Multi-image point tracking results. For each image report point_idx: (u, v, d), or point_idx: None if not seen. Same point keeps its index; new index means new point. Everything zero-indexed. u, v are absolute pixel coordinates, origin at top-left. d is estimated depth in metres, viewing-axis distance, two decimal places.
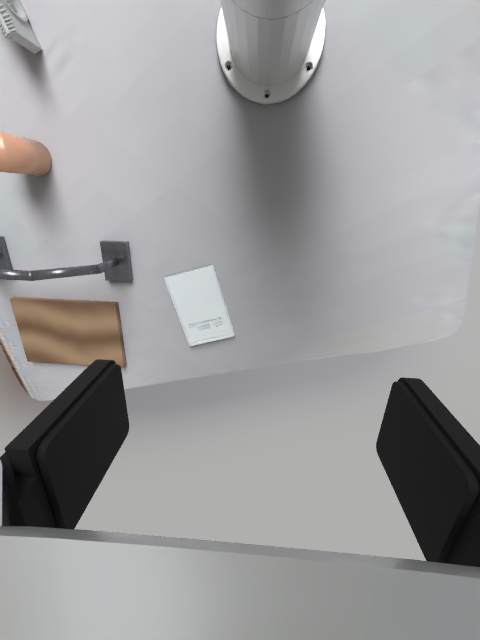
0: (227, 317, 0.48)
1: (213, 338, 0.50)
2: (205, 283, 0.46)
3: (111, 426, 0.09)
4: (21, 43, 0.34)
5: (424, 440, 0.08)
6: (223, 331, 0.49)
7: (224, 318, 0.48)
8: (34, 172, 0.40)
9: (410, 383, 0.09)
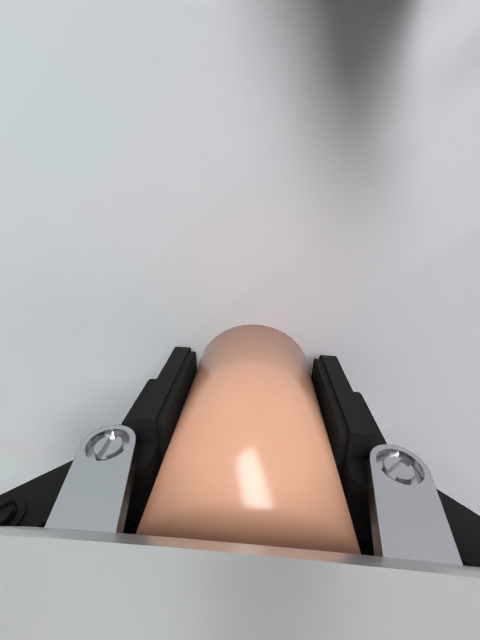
0: None
1: None
2: None
3: None
4: None
5: (324, 405, 0.09)
6: None
7: None
8: None
9: (325, 359, 0.10)
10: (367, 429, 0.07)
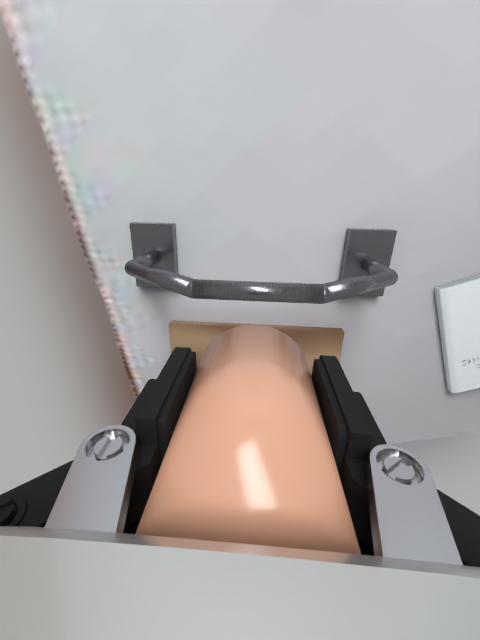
0: None
1: None
2: None
3: None
4: None
5: (324, 405, 0.09)
6: None
7: None
8: None
9: (325, 359, 0.10)
10: (367, 429, 0.07)
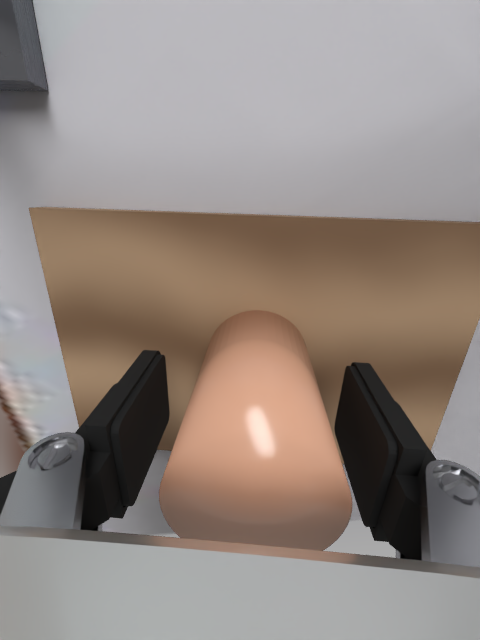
0: None
1: None
2: None
3: (158, 412, 0.10)
4: None
5: (363, 415, 0.08)
6: None
7: None
8: None
9: (359, 366, 0.10)
10: (419, 444, 0.07)
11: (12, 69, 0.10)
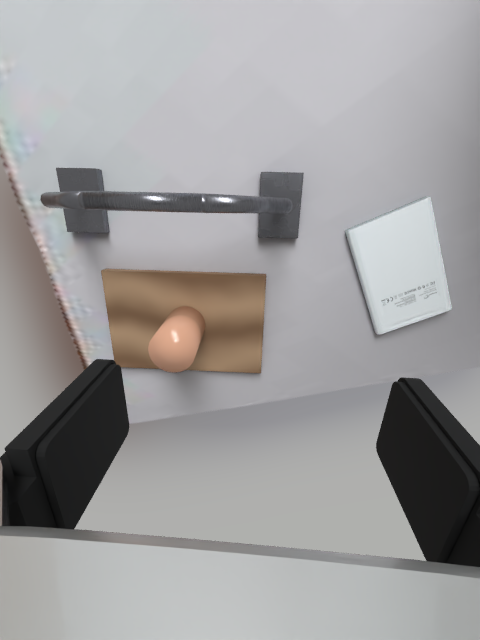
0: (445, 280, 0.31)
1: (418, 317, 0.33)
2: (416, 229, 0.29)
3: (111, 426, 0.09)
4: None
5: (424, 440, 0.08)
6: (436, 303, 0.32)
7: (440, 282, 0.31)
8: None
9: (410, 383, 0.09)
10: None
11: (100, 229, 0.31)
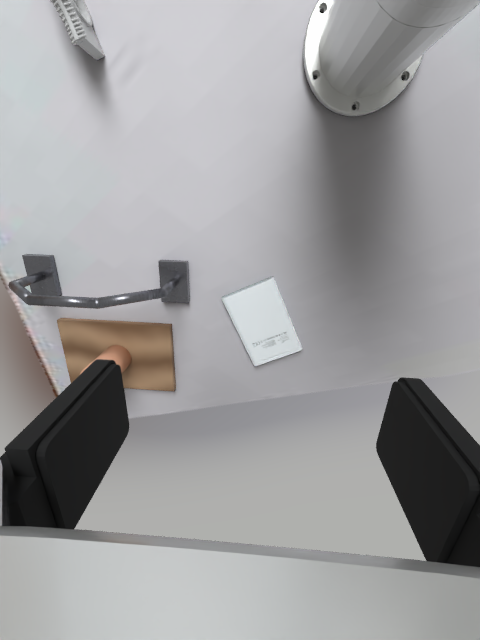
0: (293, 330, 0.44)
1: (280, 355, 0.46)
2: (267, 298, 0.42)
3: (111, 426, 0.09)
4: (86, 49, 0.32)
5: (424, 440, 0.08)
6: (290, 346, 0.45)
7: (290, 332, 0.44)
8: None
9: (410, 383, 0.09)
10: None
11: (54, 294, 0.44)
